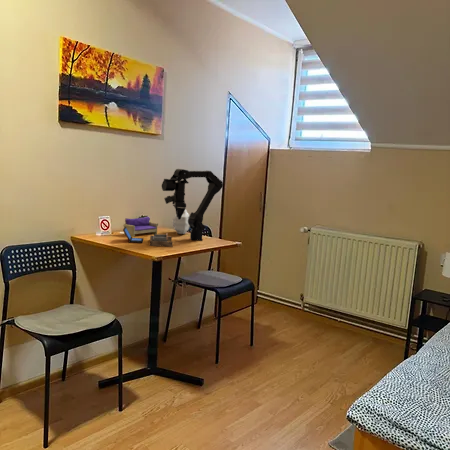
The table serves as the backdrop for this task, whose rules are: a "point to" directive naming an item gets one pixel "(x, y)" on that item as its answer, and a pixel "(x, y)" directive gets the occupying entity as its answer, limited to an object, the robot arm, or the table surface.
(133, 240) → the handheld game console
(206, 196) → the robot arm
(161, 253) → the table surface
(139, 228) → the toy sofa
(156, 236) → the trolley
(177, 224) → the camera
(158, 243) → the bay
